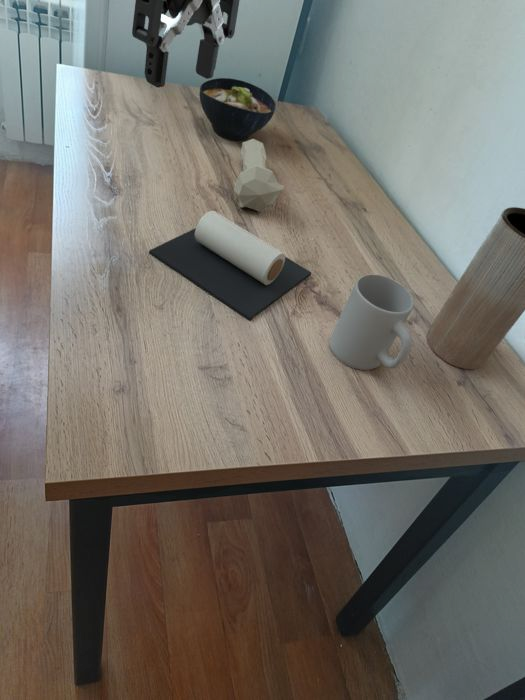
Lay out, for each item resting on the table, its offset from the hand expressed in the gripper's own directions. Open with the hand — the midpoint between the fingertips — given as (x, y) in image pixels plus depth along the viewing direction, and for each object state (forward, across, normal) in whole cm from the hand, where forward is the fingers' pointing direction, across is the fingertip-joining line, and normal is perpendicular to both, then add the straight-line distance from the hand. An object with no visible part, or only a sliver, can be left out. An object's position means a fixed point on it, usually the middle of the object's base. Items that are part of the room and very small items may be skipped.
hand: (180, 80), depth 62 cm
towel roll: (+27, +12, -6) cm, 31 cm away
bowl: (+28, +53, +26) cm, 65 cm away
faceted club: (+28, +37, +8) cm, 47 cm away
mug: (+28, +10, -32) cm, 44 cm away
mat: (+28, +12, -6) cm, 31 cm away
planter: (+28, +25, -42) cm, 56 cm away
